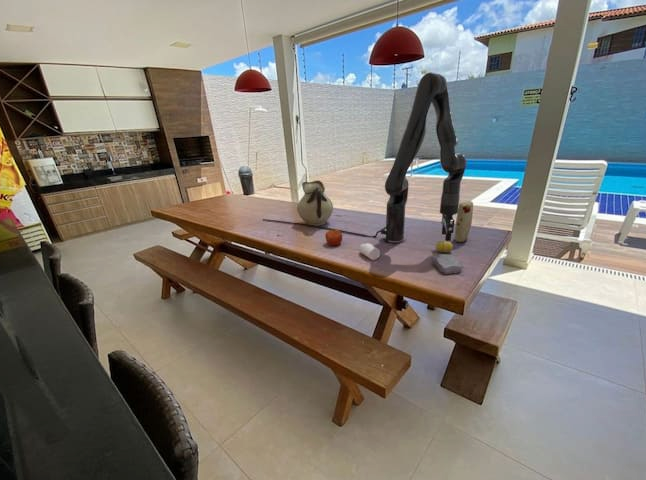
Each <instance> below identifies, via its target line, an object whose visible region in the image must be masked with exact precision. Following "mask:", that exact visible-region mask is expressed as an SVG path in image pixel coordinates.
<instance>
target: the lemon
mask: <svg viewBox="0 0 646 480" xmlns="http://www.w3.org/2000/svg"><path fill="white" fill-rule="evenodd" d="M453 248H454V245H453V243H452V242H451V241H446V240H440V241H438V242H437V243H436V244H435V250H436V252H438V253H450V252H452V251H453Z"/></svg>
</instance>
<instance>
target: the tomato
mask: <svg viewBox="0 0 646 480" xmlns="http://www.w3.org/2000/svg"><path fill="white" fill-rule="evenodd" d="M331 229H332V230H330V229H329V230H328V231H327V232H325V236H324V237H325V240H326V243H327V244H328V245H329V246H338V245H340V244H341V243H342V241H343V234H342V233H343V232H340V231H339V230H340V229H337V230H336V228H331ZM333 229H334V230H333Z"/></svg>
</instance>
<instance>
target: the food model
mask: <svg viewBox="0 0 646 480" xmlns="http://www.w3.org/2000/svg"><path fill="white" fill-rule="evenodd" d="M473 213H474V202H473V201H472V200H467V201H464V202H459V207H458V213H457V214H456V219H455V227H454V229H455V230H454V241H455V242H456V243H462V242H466V241H467V240H468V239H469V238H468V237H469V234H470V231H471V227H472V223H473Z"/></svg>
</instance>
